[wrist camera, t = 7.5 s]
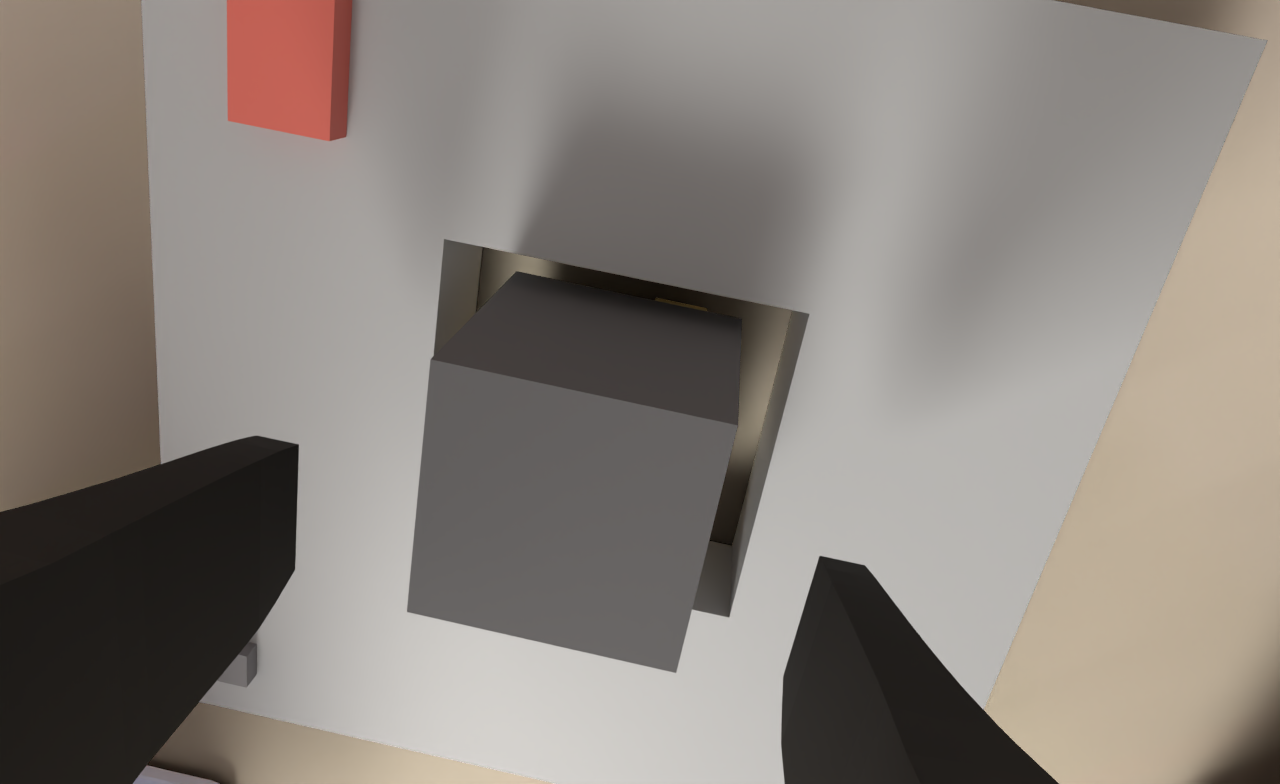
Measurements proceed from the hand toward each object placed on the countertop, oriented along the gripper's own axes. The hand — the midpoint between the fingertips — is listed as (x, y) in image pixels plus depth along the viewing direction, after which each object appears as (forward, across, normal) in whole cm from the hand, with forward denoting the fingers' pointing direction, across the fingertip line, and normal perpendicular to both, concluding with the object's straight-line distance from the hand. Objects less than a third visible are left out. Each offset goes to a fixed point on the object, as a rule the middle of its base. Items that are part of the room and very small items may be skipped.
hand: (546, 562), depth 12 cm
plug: (+6, 0, 0) cm, 6 cm away
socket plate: (+6, 0, 0) cm, 6 cm away
